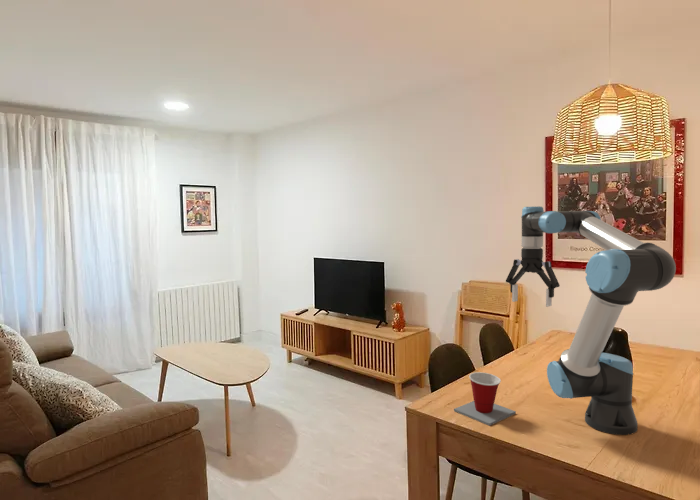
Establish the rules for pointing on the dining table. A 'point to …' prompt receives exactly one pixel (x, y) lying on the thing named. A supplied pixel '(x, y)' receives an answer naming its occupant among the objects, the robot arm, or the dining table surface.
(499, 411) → the rest mat
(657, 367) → the dining table surface
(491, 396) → the plastic cup
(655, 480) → the dining table surface
